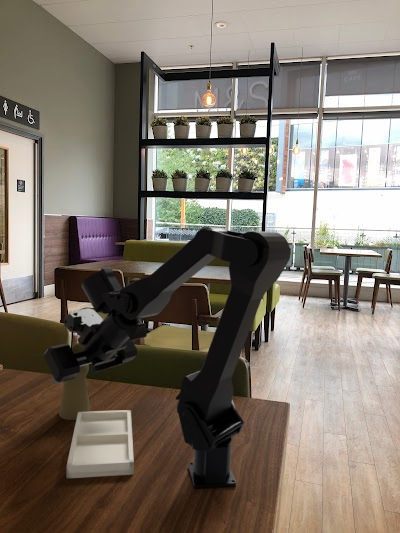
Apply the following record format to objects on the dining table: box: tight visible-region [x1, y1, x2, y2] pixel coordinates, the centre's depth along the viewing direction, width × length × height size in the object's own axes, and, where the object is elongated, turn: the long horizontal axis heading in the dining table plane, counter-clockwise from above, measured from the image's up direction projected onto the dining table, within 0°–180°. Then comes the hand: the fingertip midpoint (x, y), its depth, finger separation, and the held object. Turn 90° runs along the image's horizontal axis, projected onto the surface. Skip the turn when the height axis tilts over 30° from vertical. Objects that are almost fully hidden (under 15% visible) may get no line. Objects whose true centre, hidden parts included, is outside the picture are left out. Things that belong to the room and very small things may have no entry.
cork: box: [58, 364, 91, 421], centre depth 89 cm, size 6×6×11 cm
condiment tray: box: [66, 409, 135, 479], centre depth 77 cm, size 19×10×2 cm, turn 10°
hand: (74, 376), depth 89 cm, fingers open, 9 cm apart
